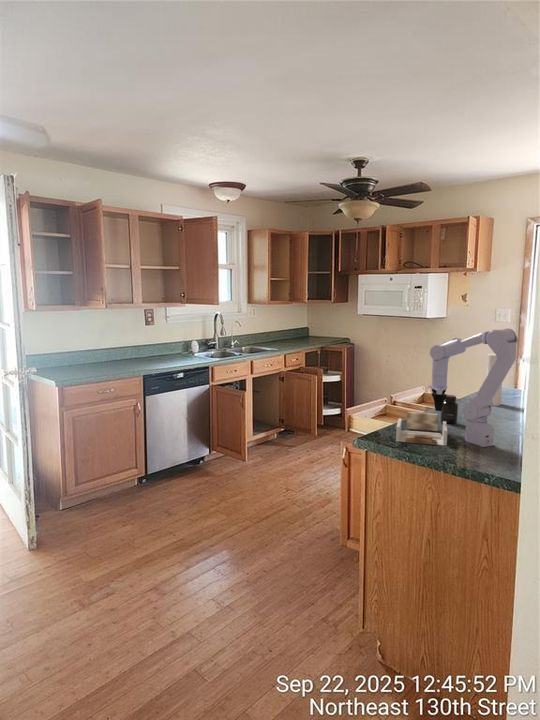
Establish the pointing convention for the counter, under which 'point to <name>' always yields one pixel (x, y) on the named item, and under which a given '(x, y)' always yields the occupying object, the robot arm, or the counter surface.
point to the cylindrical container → (490, 363)
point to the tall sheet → (422, 421)
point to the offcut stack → (421, 439)
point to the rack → (436, 436)
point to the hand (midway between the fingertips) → (438, 408)
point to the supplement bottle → (449, 410)
